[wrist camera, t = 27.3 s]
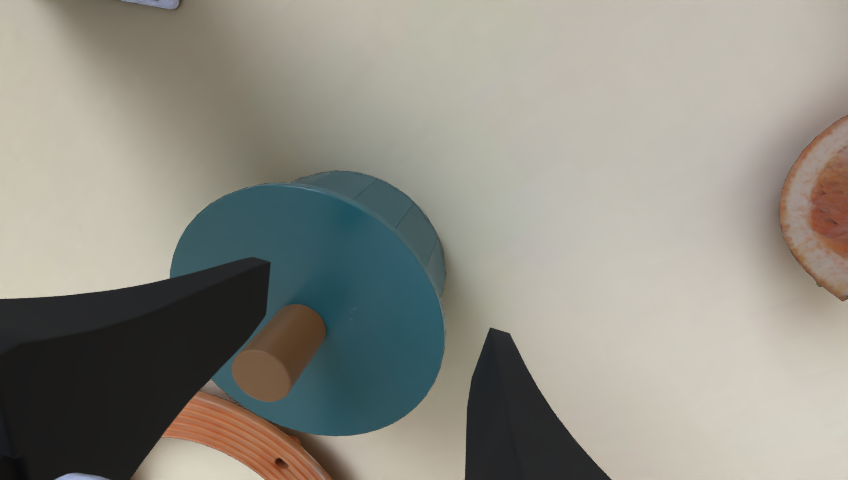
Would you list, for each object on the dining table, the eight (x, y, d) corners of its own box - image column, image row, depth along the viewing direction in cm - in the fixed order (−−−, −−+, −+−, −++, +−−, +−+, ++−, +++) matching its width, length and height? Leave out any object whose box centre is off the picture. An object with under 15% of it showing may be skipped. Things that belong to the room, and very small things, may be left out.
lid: (292, 446, 23) (246, 527, 19) (135, 259, 20) (39, 306, 16) (499, 371, 19) (499, 453, 14) (339, 118, 16) (282, 132, 11)
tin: (260, 322, 27) (199, 384, 21) (262, 152, 22) (185, 175, 17) (427, 364, 26) (407, 440, 20) (463, 194, 21) (451, 233, 16)
